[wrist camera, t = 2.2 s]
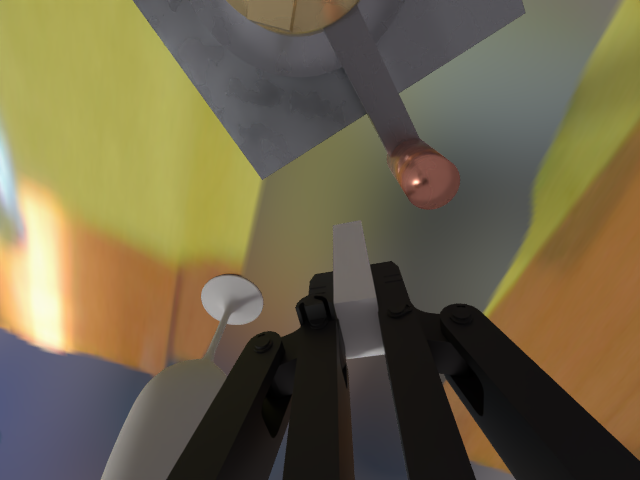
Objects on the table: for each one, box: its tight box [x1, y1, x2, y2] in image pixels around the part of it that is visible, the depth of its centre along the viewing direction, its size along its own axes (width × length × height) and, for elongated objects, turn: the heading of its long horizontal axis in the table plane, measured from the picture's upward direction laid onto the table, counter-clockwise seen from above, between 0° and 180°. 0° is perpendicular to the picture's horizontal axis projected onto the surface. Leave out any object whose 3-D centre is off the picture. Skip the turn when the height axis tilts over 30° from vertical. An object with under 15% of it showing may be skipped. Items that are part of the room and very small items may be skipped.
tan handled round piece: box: [226, 0, 460, 210], centre depth 19 cm, size 23×11×7 cm, turn 32°
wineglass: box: [101, 274, 263, 480], centre depth 29 cm, size 8×8×21 cm
